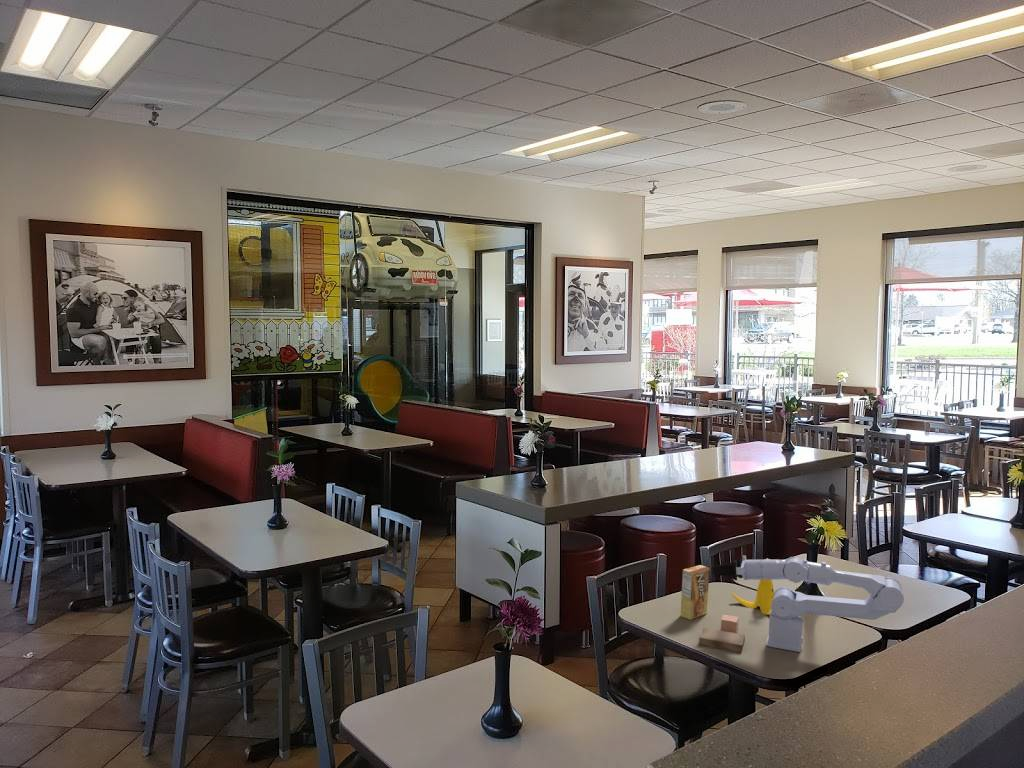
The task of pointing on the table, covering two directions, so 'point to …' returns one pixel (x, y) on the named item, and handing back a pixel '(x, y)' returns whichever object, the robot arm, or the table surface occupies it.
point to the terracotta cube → (729, 623)
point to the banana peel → (761, 597)
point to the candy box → (694, 592)
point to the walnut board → (722, 639)
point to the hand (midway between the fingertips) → (715, 569)
